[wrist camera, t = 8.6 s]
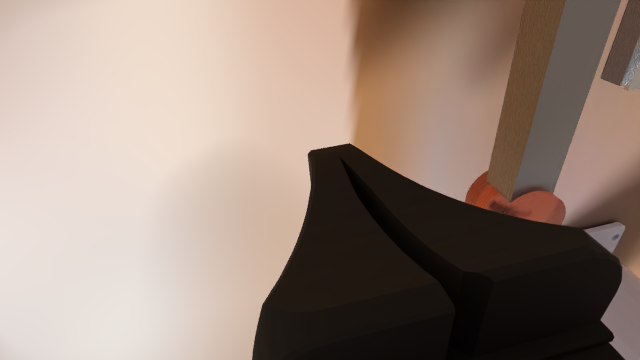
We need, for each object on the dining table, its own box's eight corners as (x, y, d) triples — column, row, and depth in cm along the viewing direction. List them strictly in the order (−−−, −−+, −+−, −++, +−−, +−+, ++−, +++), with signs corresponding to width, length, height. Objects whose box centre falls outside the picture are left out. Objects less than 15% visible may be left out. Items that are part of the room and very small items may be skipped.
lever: (527, 208, 13) (564, 242, 12) (450, 225, 13) (479, 262, 12) (707, -370, 6) (856, -461, 5) (550, -373, 6) (660, -475, 4)
